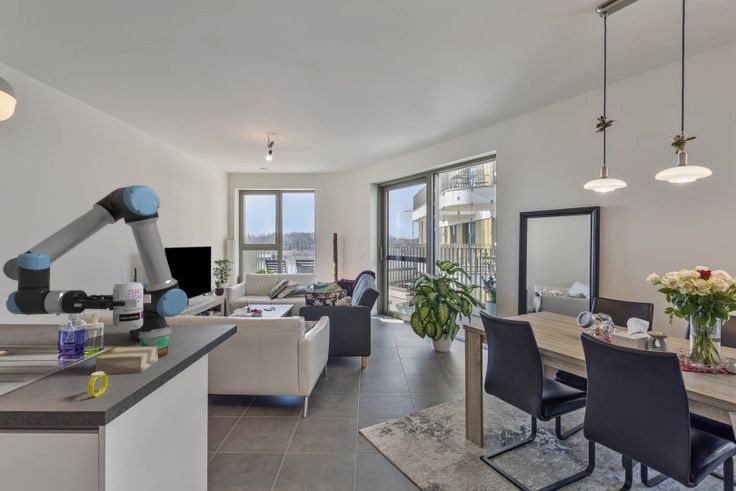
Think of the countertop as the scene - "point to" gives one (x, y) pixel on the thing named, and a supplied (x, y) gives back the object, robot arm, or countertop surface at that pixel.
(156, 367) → the countertop surface
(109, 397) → the countertop surface
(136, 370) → the loading dock
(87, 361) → the countertop surface
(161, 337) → the food container
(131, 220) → the robot arm
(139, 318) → the supplement can
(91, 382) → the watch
